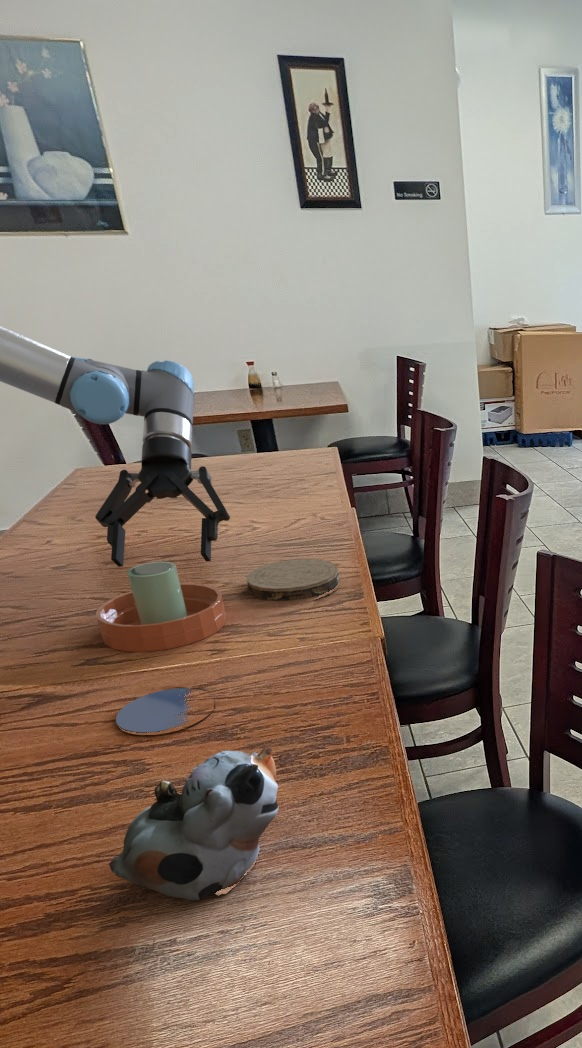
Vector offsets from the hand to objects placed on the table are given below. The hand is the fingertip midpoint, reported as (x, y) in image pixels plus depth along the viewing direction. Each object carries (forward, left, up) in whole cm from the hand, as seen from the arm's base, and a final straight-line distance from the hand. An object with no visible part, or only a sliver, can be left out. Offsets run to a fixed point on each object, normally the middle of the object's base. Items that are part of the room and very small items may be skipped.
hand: (161, 560), depth 132 cm
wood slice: (+15, +15, -11) cm, 24 cm away
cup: (+1, -5, -10) cm, 11 cm away
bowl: (+1, -5, -11) cm, 12 cm away
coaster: (+14, -31, -11) cm, 35 cm away
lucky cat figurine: (+33, -60, -11) cm, 69 cm away
